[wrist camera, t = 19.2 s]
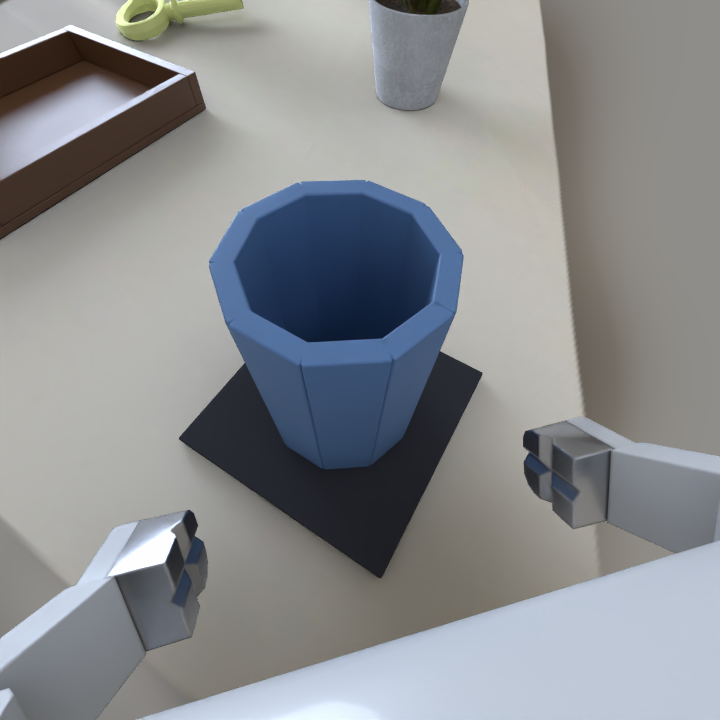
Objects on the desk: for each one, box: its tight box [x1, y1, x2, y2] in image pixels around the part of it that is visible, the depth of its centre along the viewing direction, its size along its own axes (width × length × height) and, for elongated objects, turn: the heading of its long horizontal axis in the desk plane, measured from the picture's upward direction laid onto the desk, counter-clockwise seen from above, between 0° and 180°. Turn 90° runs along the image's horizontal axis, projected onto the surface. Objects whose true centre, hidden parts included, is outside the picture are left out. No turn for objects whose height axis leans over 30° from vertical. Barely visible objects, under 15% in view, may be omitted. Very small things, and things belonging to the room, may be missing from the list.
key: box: [116, 0, 244, 41], centre depth 36 cm, size 7×12×2 cm, turn 119°
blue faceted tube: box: [209, 180, 464, 470], centre depth 13 cm, size 6×6×9 cm
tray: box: [0, 25, 206, 239], centre depth 26 cm, size 18×14×2 cm
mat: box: [179, 351, 482, 578], centre depth 17 cm, size 10×10×1 cm
